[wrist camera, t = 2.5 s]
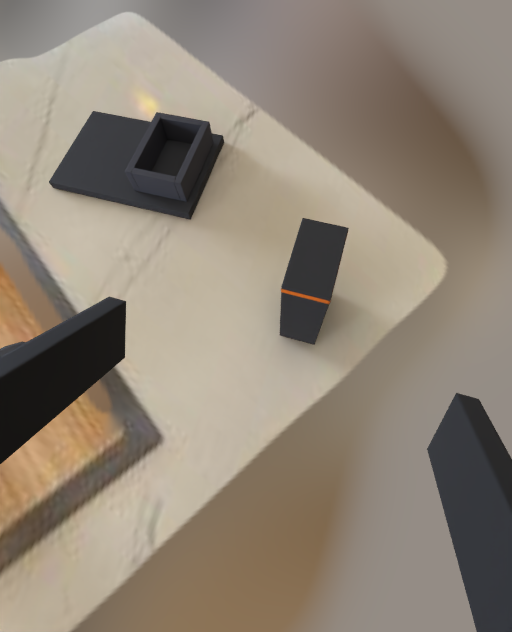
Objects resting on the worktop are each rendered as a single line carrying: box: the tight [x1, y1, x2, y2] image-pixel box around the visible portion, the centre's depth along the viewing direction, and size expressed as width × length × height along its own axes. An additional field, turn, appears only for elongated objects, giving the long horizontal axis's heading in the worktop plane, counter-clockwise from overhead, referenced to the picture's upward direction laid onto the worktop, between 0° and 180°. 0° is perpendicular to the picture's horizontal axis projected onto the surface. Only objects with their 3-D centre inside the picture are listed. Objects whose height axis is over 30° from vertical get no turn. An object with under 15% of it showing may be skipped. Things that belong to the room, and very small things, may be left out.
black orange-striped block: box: [280, 218, 348, 344], centre depth 31 cm, size 4×6×11 cm, turn 163°
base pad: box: [49, 111, 224, 219], centre depth 42 cm, size 18×12×4 cm, turn 73°
